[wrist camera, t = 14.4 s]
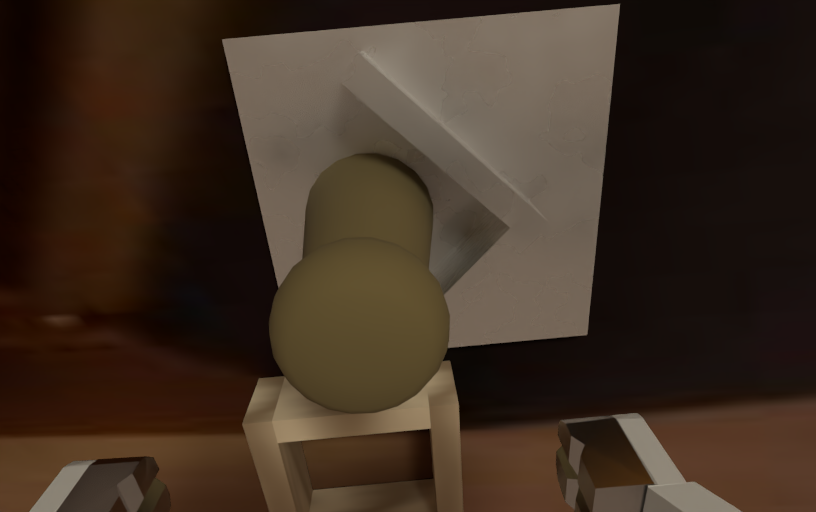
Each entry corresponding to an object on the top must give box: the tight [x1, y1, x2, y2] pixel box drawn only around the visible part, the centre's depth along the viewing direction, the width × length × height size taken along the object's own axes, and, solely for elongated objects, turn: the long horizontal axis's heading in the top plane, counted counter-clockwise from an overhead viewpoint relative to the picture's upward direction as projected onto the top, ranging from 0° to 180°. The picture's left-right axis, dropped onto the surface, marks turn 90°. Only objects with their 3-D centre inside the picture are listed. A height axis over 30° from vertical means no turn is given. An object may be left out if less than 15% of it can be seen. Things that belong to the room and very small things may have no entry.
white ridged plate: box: [222, 4, 620, 348], centre depth 21 cm, size 16×16×4 cm
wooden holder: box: [242, 361, 463, 512], centre depth 28 cm, size 11×11×4 cm
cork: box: [269, 153, 450, 414], centre depth 17 cm, size 6×6×11 cm
